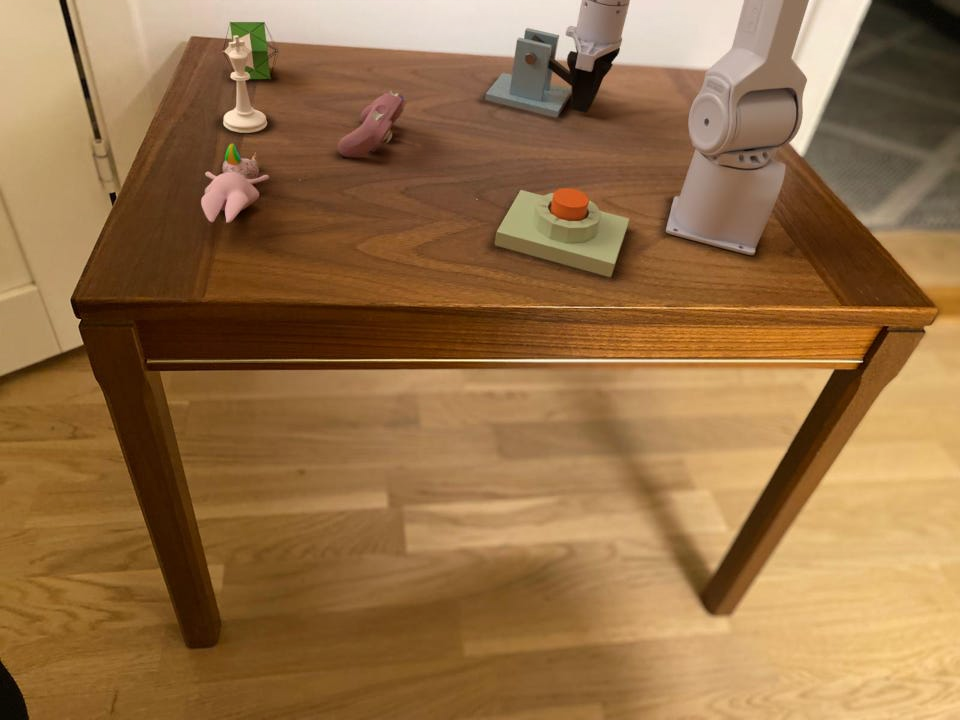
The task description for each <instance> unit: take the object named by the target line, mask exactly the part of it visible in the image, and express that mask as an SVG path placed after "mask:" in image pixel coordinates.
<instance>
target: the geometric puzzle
mask: <svg viewBox="0 0 960 720" xmlns="http://www.w3.org/2000/svg"><path fill="white" fill-rule="evenodd" d="M228 26H229V27H228V28H227V33H226V37H225V40H224V45H223V47H222V50H221V52H222V53H223V55H224V56H225V59H226V61H227V63H228V64H229V66H230V69H231V70H232V72H235V70H234V68H233V66H232V64H231V63H230V60H228V57H229V53H230V52H232V51H235V48H230V47H229V45H228V46H227V47H226V48H225V46H226V43H227V37H228V34H229V29H230V33H231V42H234V39H233V36H235V35H237V36H239V41H241V40H243V41H245V46H240V51H243V52H245V53H246V54H247V55H248V57H247V61H246V67H245V70H244V71H245V72H247V73H249V75H250V79H249V80H272V76H273V71H274V69H275V65H276V63H277V62H276V60H277V59H278V55H279V52H280V50H279V49H278V45H276V42H275V40H274V39H273V36H272V34H271V32H270V30H269V28H268V26H267V24H266V21H229V24H228ZM266 30H267V34H268V35H269V37H270V40H271V42H272V45H271V44H270V43H268V42H267V35H266ZM268 47H269V48H270V49H272V50H273V51H272V53H270V54H269V50H268ZM227 56H228V57H227ZM272 57H274V60H273V61H274V62H273V63H272V66H273V67H272V69H271V68H270V61H269V59H270V58H272ZM270 69H271V70H270Z"/></svg>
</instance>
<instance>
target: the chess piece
mask: <svg viewBox="0 0 960 720" xmlns="http://www.w3.org/2000/svg"><path fill="white" fill-rule="evenodd" d="M233 39H234V42H232V41H229V42H228V46H229V47H230V48H235V51H232V52H230V53H229V56H228V58H229V62H231V63H230V64H231V66H232V69H233V71H234V72H233V71H232V72H231V73H230V77H229V78H230V79H231V80H233V81H235V82H236V98H235V99H236V101H235V103H236V104H235V107H234V108H233V109H230V110H229V111H227V112H226V113H225V114H224V115H223V119H222V120H223V126H224V127H225V128H226V129H227V130H229V131H232V132H234V133H240V134H251V133H256V132H260V131H262V130H264V129H265V128H266V127H267V125H268V121H267V116H266V115H265V114H264V113H263V112H262V111H260V110H258V109H255V108H254V107H252V104H251V101H250V96H249V92H248V88H247V87H248V86H247V83H246V82H247V81H248V80H251V79H250V75H249V73H247V72H245V71H244V70H245V67H246V61H247V57H248V55H247V54H246V53H245V52H243V51H240V46H245V41H243V40H241V41H239V36H237V35H235V36H233Z"/></svg>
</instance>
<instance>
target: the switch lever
mask: <svg viewBox="0 0 960 720" xmlns="http://www.w3.org/2000/svg"><path fill="white" fill-rule="evenodd" d="M531 40H532V41H536V42H541V43H545V42H543V41H542V40H541V39H540V38H538V37H537V36H536V35H534V36H533V37H532V39H531ZM545 44H546V43H545ZM551 49H552V48H551ZM548 68H549V69H550V70H552V71H553V73H554V74H555V75H557V77H559V78H560V79H562V80H563V81H564V82H565V83H567V84H568V85H569V86H570V87H572V82H571V74H570V70H569V69H568V68H566V67H565V66H564V65H563V64H561V63H560V62H558V61H557V60H556V58H555V59H554V58H552V57H551V56H550V60H549V65H548Z"/></svg>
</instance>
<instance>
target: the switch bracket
mask: <svg viewBox="0 0 960 720" xmlns="http://www.w3.org/2000/svg"><path fill="white" fill-rule="evenodd" d="M534 35H536V36H537V37H538V38H540V39H541V40H542V41H543V42H545V43H546V44H545V43H541V42H536V41H532V40H531V39H532V37H533V36H534ZM559 38H560V35H559V34H555V33H551V32H547V31H542V30H538V29H533V28H529V27H527V28H526V29H525V30H524V35H523V37H518V38H517V39H516V44H515V50H514V57H513V65H512V72H511V74H510V73H506V72H502V73H501V74H500V76H499V77H498V78H497V79H496V80H495V82H494V83H493V84H492V85H491V86H490V88H489V89H488V90H487V91H486V93H485V95H484V96H485V97H484V100H485V101H489V102H493V103H496V104H501V105H505V106H509V107H512V108H517V109H521V110H525V111H529V112H533V113H537V114H541V115H546V116H549V117H553V118H559V116H560V114H561V112H562V111H563V109H564V107H565V106H566V103H567V102H568V100H569V99H570V97H571V96H572V88H568V87H565V86H561V85H556V84H552V79H553V73H554V72H553V71H552V70H550V69H549V68H548V65H549V60H550V56H551V57H552V58H554V59H555V60H556V55H557V50H558V45H559ZM551 48H552V49H551Z"/></svg>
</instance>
